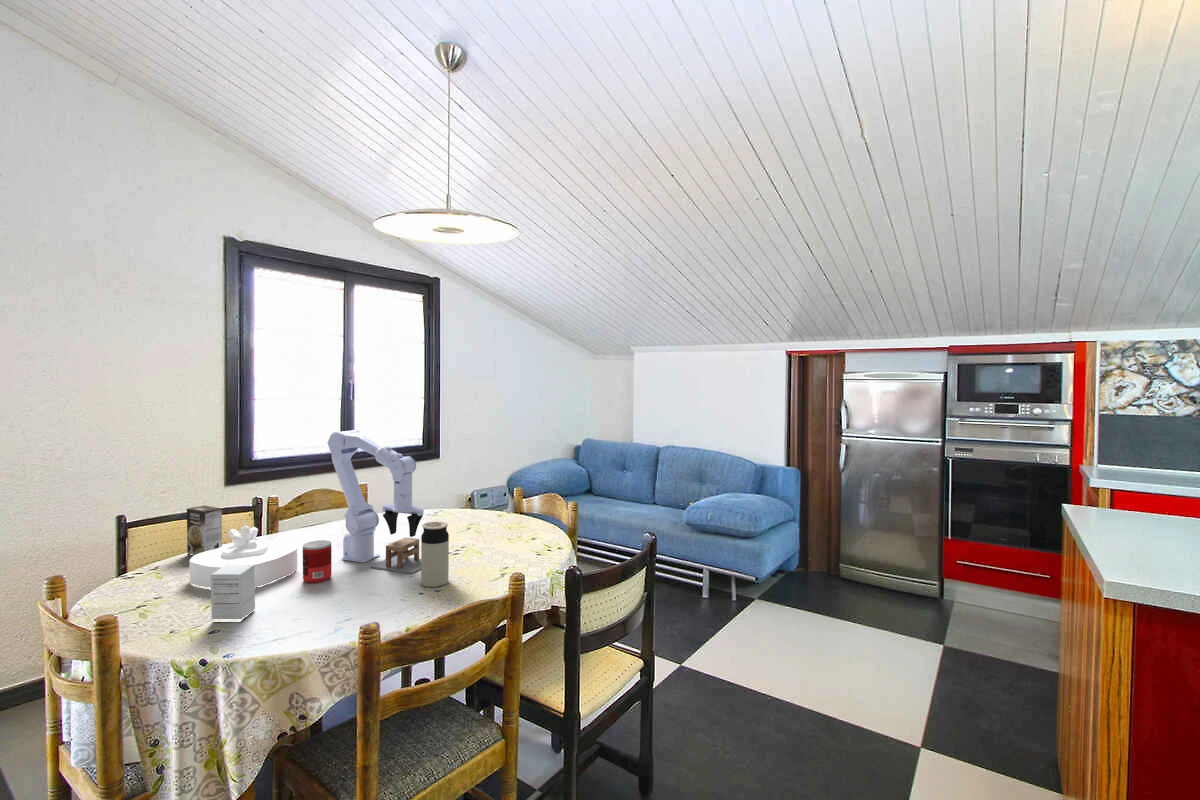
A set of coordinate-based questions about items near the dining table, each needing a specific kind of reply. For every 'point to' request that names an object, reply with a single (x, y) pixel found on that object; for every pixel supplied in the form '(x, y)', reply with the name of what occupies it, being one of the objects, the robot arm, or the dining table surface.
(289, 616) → the dining table surface
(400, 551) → the stool
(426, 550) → the travel mug
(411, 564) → the mat
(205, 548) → the coffee box
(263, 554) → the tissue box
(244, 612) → the supplement box
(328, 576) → the canned food
